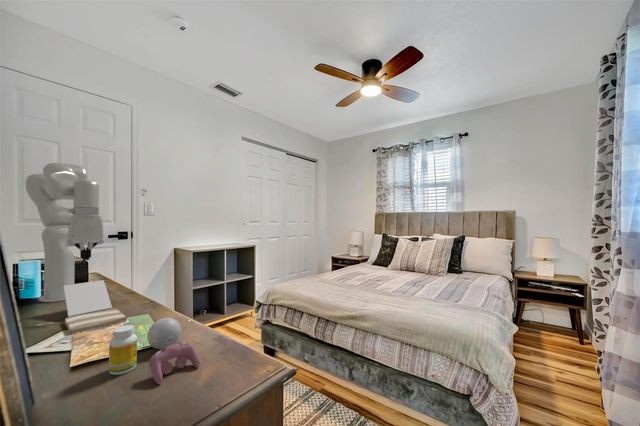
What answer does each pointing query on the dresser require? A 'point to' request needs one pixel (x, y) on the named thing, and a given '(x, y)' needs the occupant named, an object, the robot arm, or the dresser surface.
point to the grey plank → (86, 298)
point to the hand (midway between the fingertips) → (85, 259)
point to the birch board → (94, 320)
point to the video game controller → (161, 358)
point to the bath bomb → (164, 333)
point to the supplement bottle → (122, 350)
